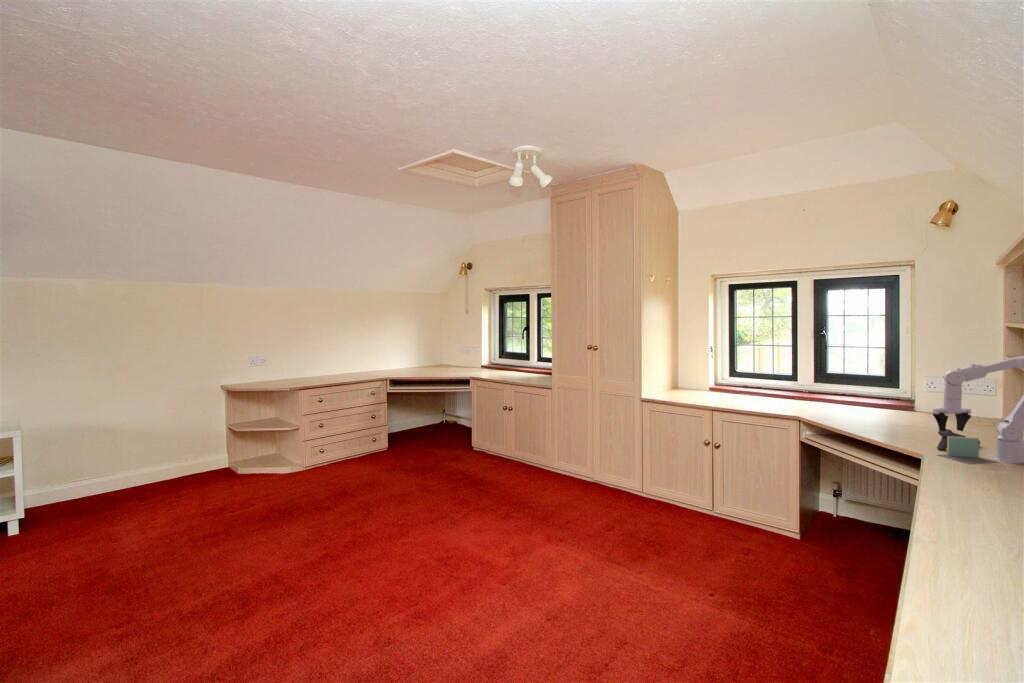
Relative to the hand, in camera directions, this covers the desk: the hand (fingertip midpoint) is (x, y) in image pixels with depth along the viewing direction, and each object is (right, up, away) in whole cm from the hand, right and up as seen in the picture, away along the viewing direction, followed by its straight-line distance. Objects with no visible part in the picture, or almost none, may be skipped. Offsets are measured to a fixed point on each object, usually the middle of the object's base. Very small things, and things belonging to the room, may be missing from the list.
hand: (951, 430), depth 215 cm
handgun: (+13, -10, +11) cm, 20 cm away
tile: (+2, -10, -3) cm, 11 cm away
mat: (+1, -11, -6) cm, 13 cm away
